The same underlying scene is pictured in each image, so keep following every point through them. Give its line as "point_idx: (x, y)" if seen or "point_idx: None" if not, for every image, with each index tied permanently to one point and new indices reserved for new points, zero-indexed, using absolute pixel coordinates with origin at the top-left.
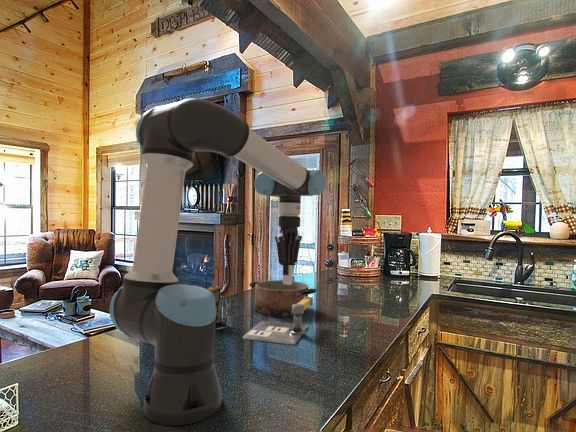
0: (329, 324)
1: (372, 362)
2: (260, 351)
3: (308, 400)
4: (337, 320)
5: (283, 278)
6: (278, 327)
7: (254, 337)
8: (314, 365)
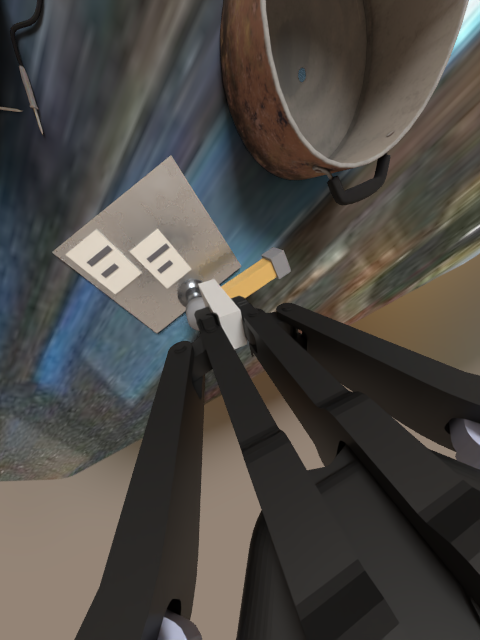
0: None
1: (208, 401)
2: (74, 332)
3: (79, 451)
4: (311, 262)
5: (202, 293)
6: (172, 252)
7: (83, 275)
8: (138, 394)
